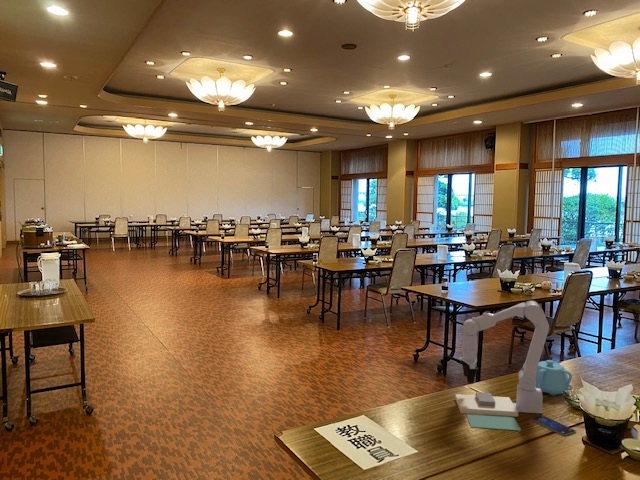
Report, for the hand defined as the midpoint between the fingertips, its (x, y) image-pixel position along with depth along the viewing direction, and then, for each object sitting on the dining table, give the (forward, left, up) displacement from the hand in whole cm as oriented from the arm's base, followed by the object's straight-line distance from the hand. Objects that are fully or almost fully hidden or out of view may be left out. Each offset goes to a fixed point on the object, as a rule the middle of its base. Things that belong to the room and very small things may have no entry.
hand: (468, 379), depth 204 cm
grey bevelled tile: (-6, +5, -7) cm, 11 cm away
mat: (-6, +19, -9) cm, 22 cm away
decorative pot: (-38, -17, -9) cm, 43 cm away
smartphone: (-28, +19, -10) cm, 35 cm away
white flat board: (-6, +6, -9) cm, 12 cm away
